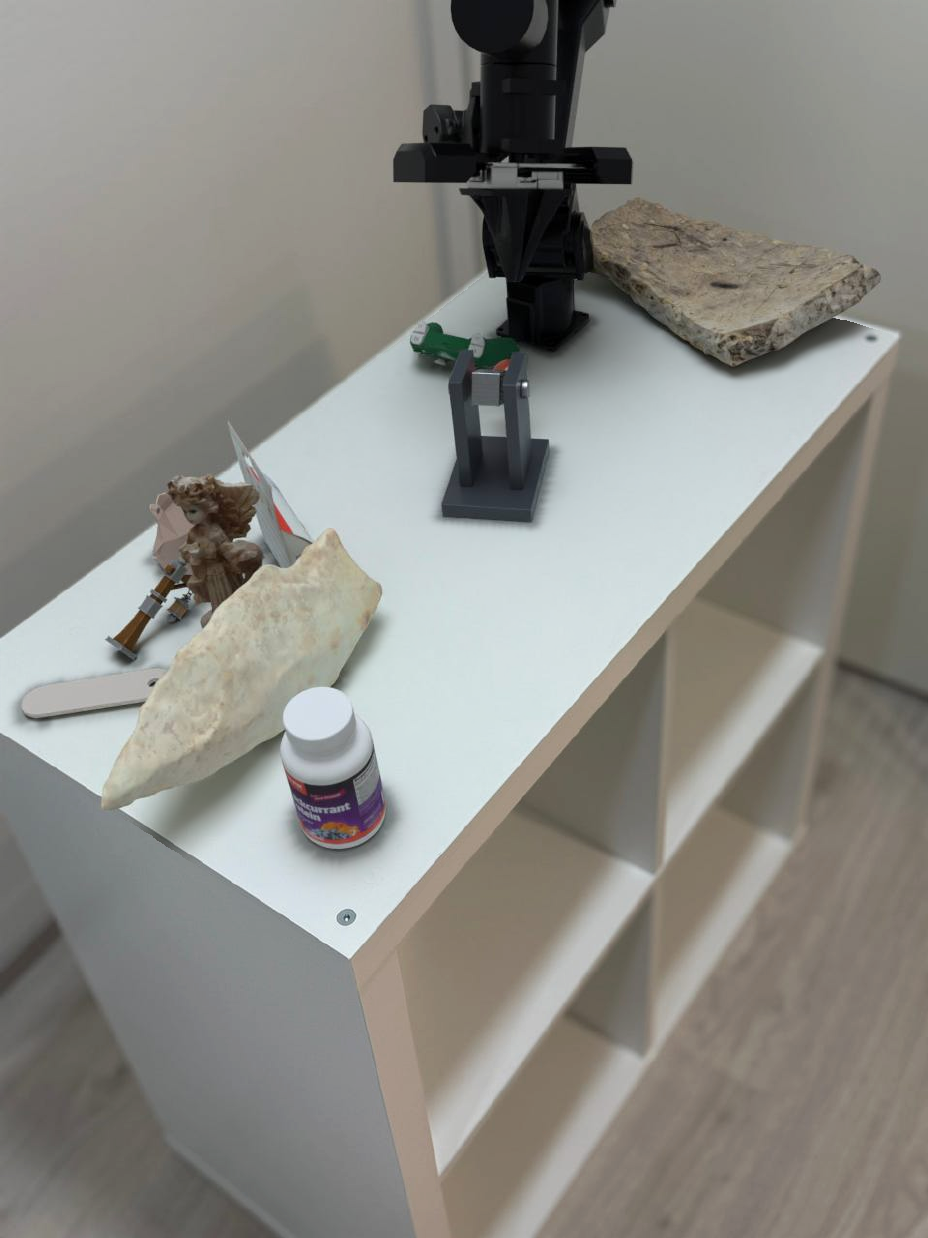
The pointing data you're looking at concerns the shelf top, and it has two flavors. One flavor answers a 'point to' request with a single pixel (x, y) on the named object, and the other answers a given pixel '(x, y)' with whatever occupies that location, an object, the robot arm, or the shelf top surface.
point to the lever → (489, 385)
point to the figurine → (216, 536)
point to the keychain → (90, 693)
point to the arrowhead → (246, 670)
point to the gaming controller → (460, 345)
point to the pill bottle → (331, 769)
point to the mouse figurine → (169, 531)
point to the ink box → (273, 511)
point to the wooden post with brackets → (155, 607)
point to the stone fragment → (724, 279)
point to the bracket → (494, 450)
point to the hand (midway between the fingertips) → (513, 281)
